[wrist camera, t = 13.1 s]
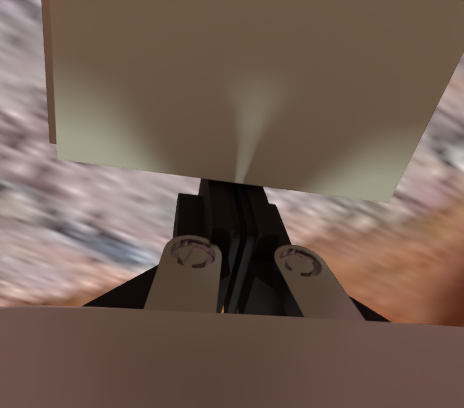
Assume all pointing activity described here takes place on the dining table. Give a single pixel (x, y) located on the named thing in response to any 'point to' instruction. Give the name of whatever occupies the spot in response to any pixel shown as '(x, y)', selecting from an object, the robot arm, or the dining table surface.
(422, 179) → the dining table surface
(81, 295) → the dining table surface
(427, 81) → the pale green block
